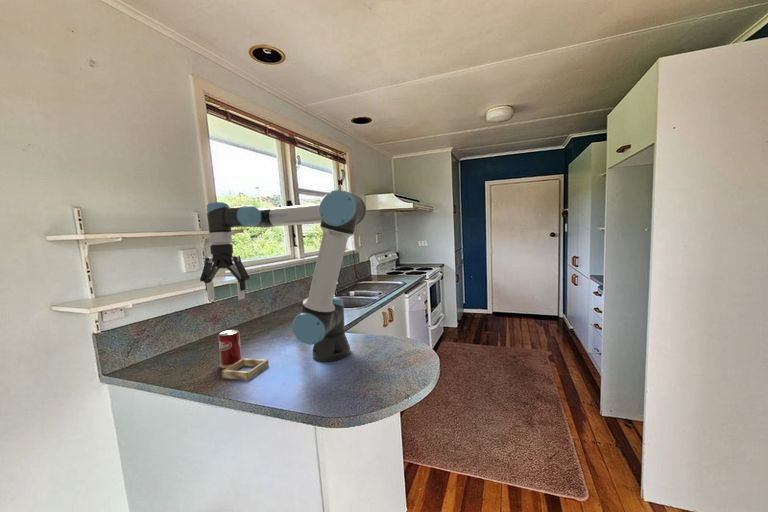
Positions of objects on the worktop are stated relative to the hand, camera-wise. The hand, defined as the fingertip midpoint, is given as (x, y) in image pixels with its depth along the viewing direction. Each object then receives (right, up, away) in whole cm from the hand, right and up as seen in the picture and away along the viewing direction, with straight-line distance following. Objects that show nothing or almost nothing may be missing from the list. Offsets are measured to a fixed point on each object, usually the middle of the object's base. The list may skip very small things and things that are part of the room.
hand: (226, 299), depth 116 cm
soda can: (+1, -25, +2) cm, 25 cm away
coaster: (+1, -25, +2) cm, 26 cm away
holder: (+10, -26, -6) cm, 28 cm away
